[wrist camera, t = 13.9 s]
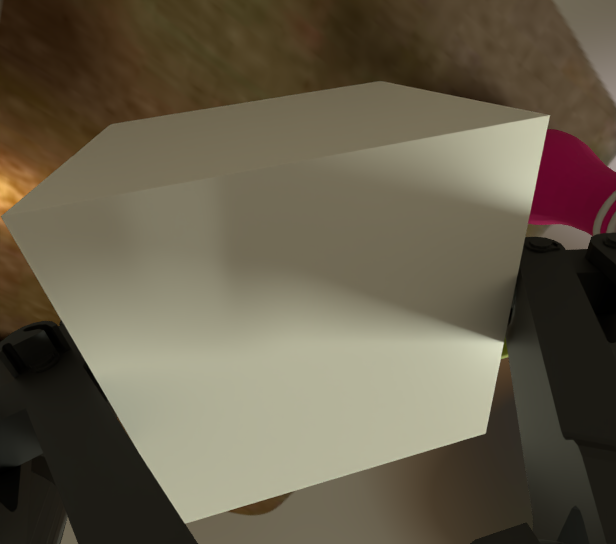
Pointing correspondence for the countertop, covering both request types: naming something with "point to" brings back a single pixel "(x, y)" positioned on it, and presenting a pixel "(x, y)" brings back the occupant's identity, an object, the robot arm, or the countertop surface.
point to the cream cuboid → (290, 280)
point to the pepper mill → (573, 187)
